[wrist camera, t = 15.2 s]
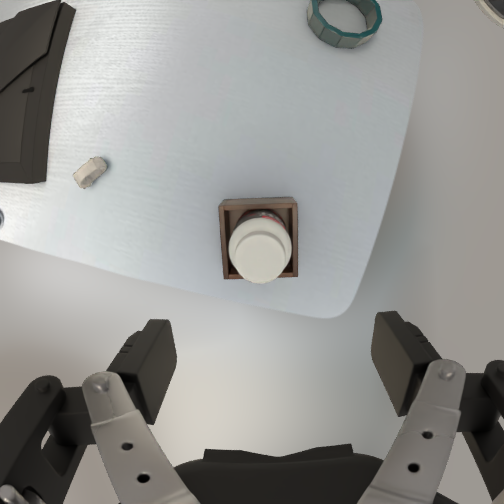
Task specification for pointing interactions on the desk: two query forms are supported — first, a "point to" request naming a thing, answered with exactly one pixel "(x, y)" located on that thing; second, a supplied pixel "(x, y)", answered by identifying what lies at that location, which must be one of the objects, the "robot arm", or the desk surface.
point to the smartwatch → (90, 172)
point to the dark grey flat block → (30, 87)
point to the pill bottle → (260, 245)
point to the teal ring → (335, 36)
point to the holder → (237, 207)
